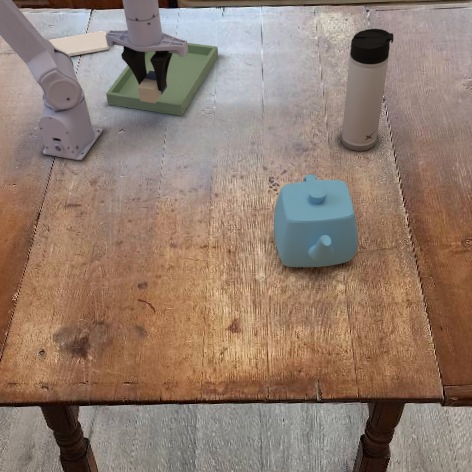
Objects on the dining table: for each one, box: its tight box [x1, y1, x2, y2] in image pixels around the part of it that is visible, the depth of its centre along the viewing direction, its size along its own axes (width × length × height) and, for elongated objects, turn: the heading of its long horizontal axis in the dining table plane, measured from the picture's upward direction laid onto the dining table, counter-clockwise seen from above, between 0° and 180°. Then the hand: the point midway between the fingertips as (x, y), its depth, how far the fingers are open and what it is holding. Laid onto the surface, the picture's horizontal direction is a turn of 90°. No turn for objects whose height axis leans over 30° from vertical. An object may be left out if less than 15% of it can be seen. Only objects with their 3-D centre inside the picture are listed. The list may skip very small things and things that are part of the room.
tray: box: [105, 42, 219, 117], centre depth 137 cm, size 22×16×2 cm
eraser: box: [138, 69, 168, 103], centre depth 123 cm, size 6×3×3 cm, turn 162°
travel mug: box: [341, 28, 394, 152], centre depth 115 cm, size 6×7×20 cm
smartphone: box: [47, 30, 111, 57], centre depth 147 cm, size 7×1×15 cm
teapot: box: [273, 173, 359, 268], centre depth 102 cm, size 12×18×12 cm
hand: (153, 86), depth 123 cm, fingers closed on eraser, 3 cm apart
